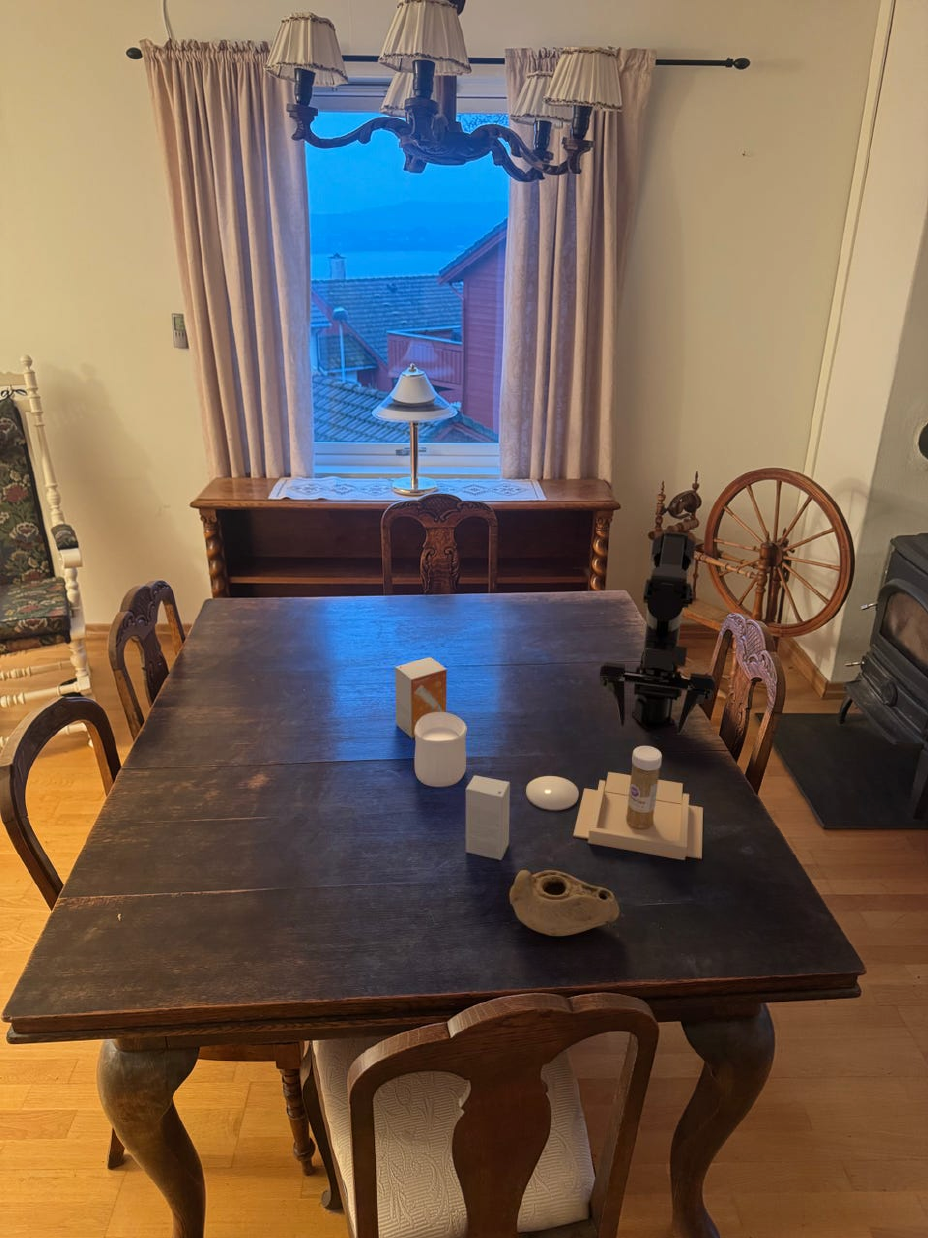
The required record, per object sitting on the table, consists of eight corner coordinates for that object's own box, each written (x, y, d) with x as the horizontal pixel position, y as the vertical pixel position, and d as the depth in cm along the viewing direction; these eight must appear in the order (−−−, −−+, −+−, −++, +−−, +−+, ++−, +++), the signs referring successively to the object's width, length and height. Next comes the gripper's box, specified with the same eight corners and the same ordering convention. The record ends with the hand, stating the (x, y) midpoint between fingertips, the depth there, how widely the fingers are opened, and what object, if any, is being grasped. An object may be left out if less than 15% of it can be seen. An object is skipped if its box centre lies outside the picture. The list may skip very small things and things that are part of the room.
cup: (427, 795, 146) (426, 747, 142) (403, 765, 154) (402, 719, 150) (476, 780, 150) (476, 733, 146) (450, 752, 158) (450, 706, 154)
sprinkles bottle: (620, 822, 139) (627, 753, 133) (634, 809, 142) (642, 741, 137) (645, 834, 136) (653, 764, 131) (658, 820, 140) (667, 751, 134)
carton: (588, 770, 153) (589, 758, 152) (703, 788, 148) (704, 776, 147) (572, 840, 135) (573, 827, 134) (701, 863, 130) (703, 850, 129)
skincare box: (509, 844, 134) (511, 781, 129) (501, 861, 131) (503, 797, 126) (473, 836, 136) (473, 774, 131) (464, 852, 132) (464, 789, 127)
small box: (411, 739, 162) (410, 679, 156) (395, 724, 166) (393, 666, 161) (447, 727, 166) (447, 668, 160) (430, 713, 171) (430, 655, 165)
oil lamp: (623, 949, 115) (628, 904, 111) (513, 952, 114) (514, 907, 111) (607, 892, 125) (611, 849, 121) (506, 894, 124) (507, 851, 121)
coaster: (563, 774, 151) (563, 771, 151) (587, 803, 144) (588, 800, 144) (517, 785, 148) (517, 782, 148) (540, 815, 141) (540, 812, 141)
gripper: (605, 619, 140) (592, 709, 135) (721, 632, 136) (712, 726, 131) (607, 641, 151) (594, 726, 145) (715, 654, 146) (706, 742, 141)
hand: (650, 730), depth 140 cm, fingers open, 9 cm apart
